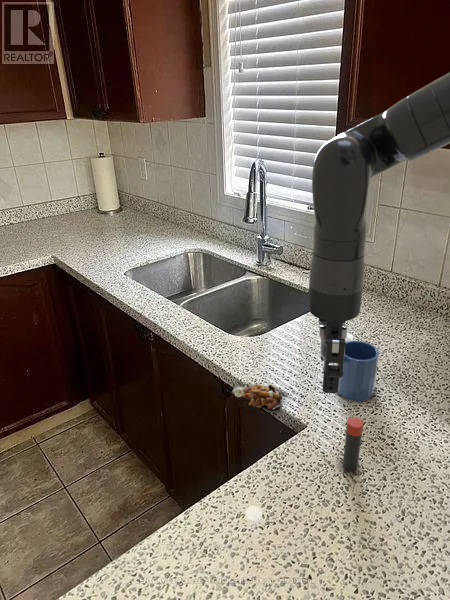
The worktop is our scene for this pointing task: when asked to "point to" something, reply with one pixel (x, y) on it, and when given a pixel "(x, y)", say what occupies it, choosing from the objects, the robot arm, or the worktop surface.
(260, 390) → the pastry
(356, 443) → the marker
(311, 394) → the worktop surface
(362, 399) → the vase
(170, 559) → the worktop surface
